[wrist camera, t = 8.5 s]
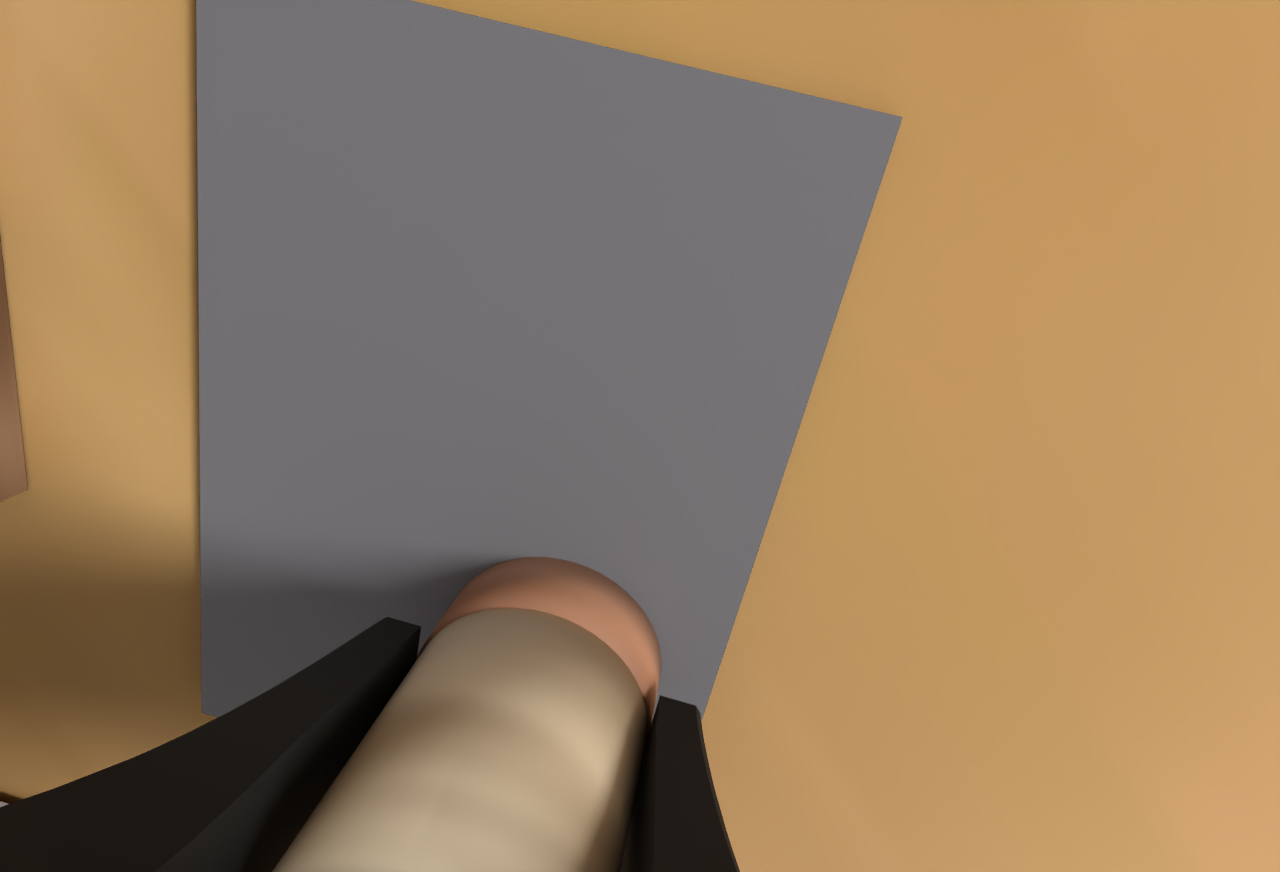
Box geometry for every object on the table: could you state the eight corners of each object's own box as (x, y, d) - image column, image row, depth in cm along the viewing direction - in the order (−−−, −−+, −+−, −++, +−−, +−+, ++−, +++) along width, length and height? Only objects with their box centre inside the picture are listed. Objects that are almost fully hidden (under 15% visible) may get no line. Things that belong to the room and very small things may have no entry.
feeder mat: (660, 832, 15) (658, 849, 15) (214, 699, 16) (201, 712, 15) (896, 119, 10) (902, 117, 10) (214, -44, 10) (195, -50, 10)
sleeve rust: (634, 766, 14) (555, 1159, 8) (434, 707, 14) (230, 1052, 9) (685, 593, 13) (630, 933, 7) (461, 530, 13) (233, 812, 7)
